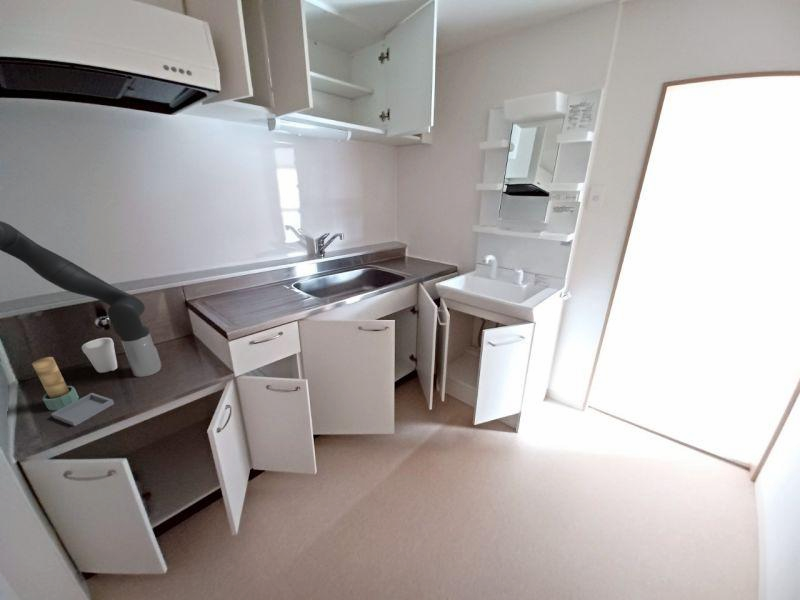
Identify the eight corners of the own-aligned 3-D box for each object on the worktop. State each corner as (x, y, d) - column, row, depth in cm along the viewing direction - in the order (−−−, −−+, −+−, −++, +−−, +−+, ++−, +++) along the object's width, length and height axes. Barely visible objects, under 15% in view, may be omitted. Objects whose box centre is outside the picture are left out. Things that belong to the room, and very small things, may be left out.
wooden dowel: (62, 398, 115) (41, 357, 108) (77, 397, 115) (57, 356, 108) (49, 407, 110) (27, 365, 103) (64, 407, 110) (43, 364, 104)
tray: (54, 419, 106) (51, 413, 105) (94, 397, 116) (91, 392, 115) (75, 427, 102) (72, 421, 102) (114, 404, 113) (112, 399, 112)
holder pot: (62, 397, 116) (56, 386, 114) (84, 396, 117) (79, 385, 115) (42, 412, 109) (36, 400, 107) (66, 410, 110) (60, 399, 108)
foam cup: (119, 360, 139) (109, 335, 134) (124, 368, 134) (114, 342, 129) (91, 370, 132) (79, 343, 127) (95, 378, 127) (83, 351, 122)
